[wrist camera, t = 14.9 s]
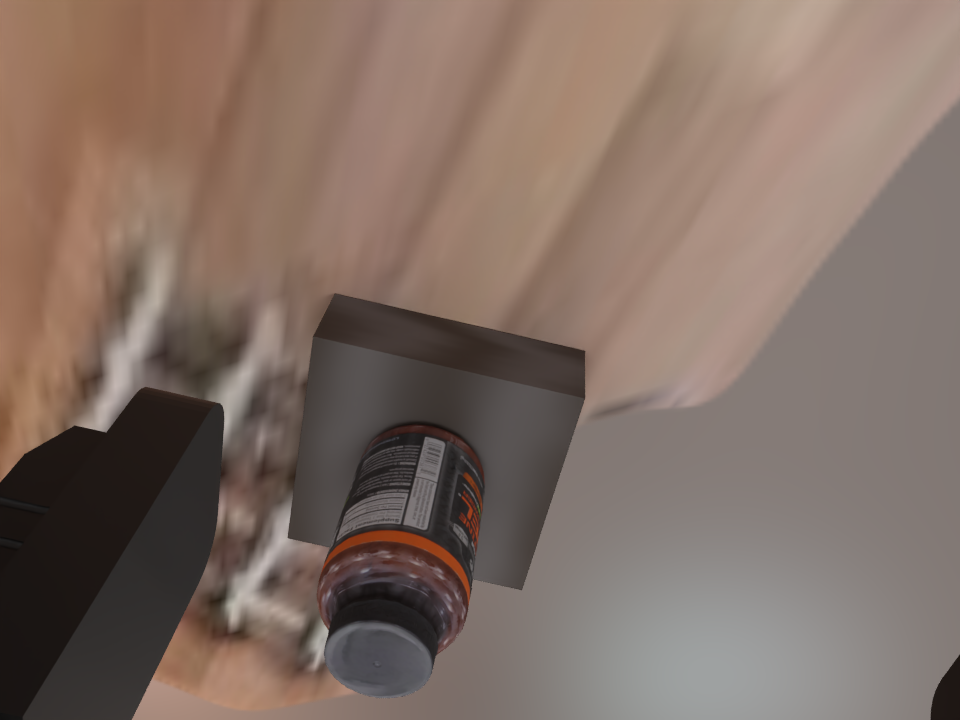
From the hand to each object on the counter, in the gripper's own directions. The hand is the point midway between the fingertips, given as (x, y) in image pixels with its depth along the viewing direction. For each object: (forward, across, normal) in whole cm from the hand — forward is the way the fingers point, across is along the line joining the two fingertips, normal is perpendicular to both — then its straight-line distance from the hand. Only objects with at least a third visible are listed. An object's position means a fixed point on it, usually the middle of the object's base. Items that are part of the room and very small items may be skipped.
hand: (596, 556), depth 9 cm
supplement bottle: (+26, +2, +21) cm, 34 cm away
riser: (+30, +2, +21) cm, 37 cm away
